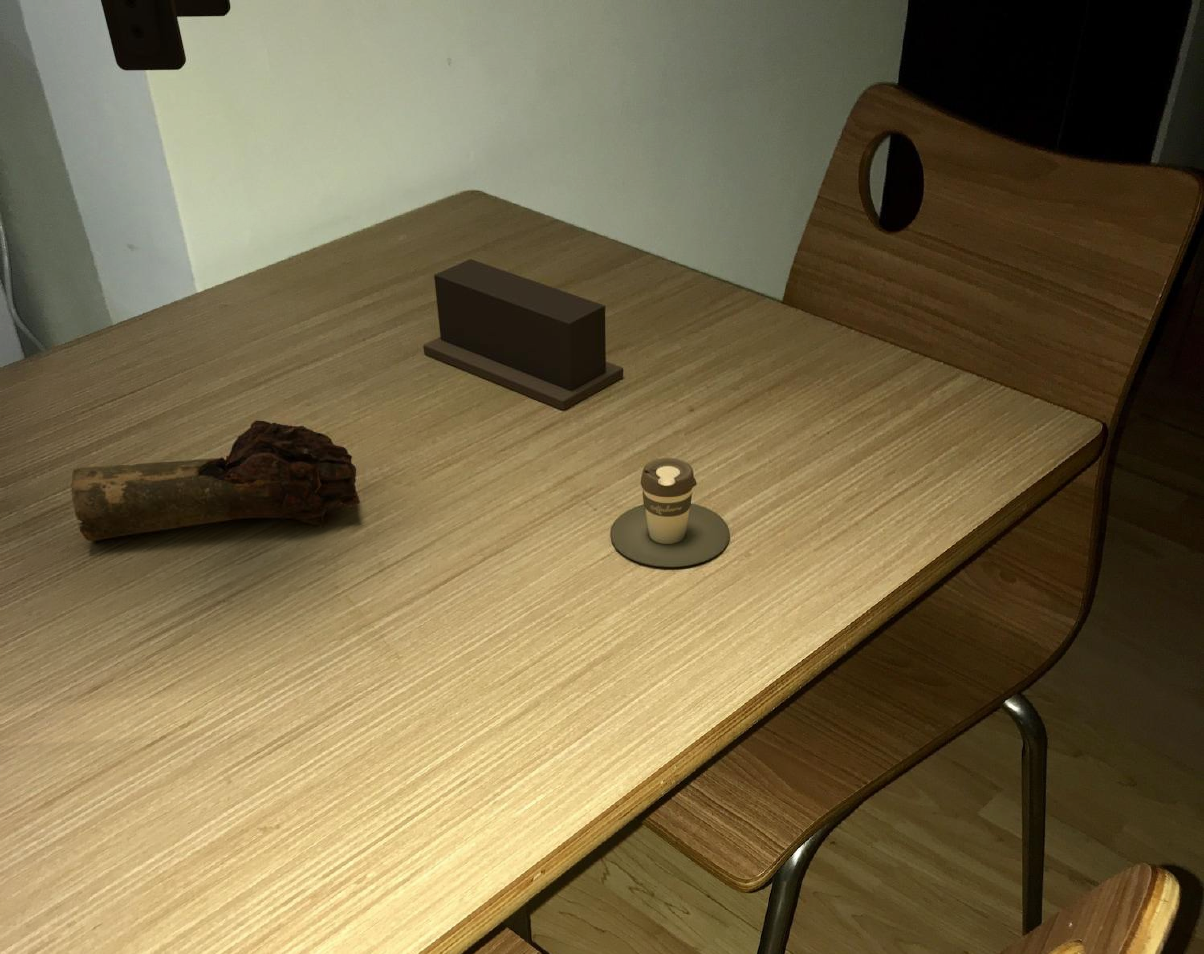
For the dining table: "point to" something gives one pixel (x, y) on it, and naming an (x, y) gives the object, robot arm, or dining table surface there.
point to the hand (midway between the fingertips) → (178, 40)
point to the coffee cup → (669, 521)
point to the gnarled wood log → (219, 485)
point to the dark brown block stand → (521, 334)
